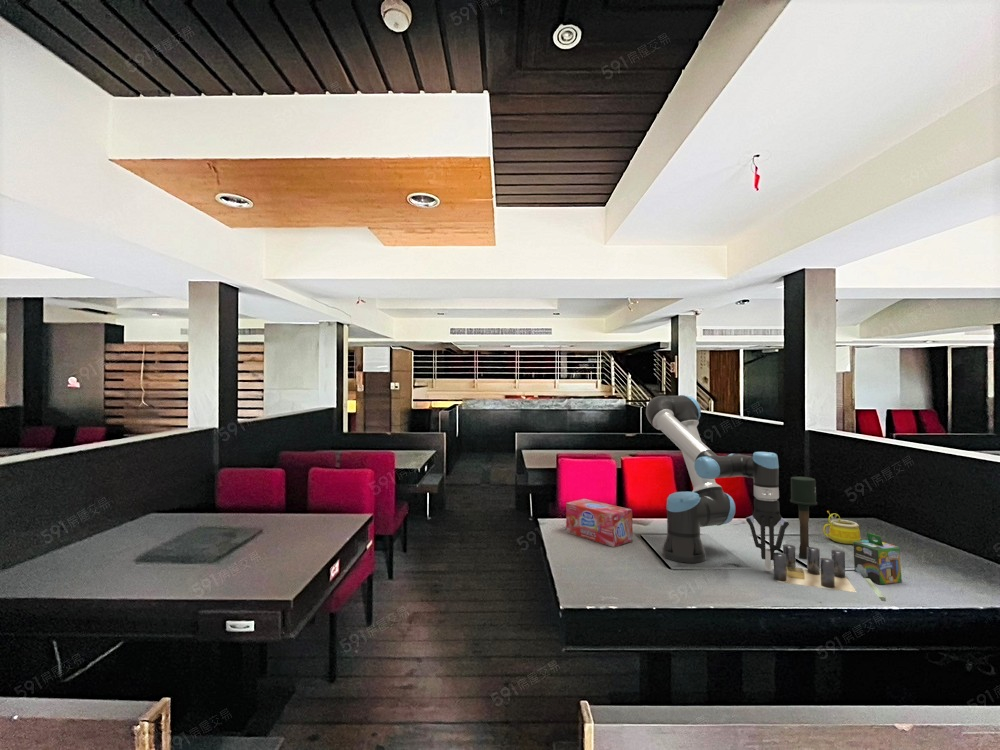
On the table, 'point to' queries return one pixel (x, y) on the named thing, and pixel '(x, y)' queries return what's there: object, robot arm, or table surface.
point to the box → (599, 522)
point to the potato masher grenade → (803, 507)
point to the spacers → (811, 564)
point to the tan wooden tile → (795, 572)
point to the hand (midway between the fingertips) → (767, 569)
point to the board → (840, 583)
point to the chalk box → (877, 560)
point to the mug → (842, 530)
